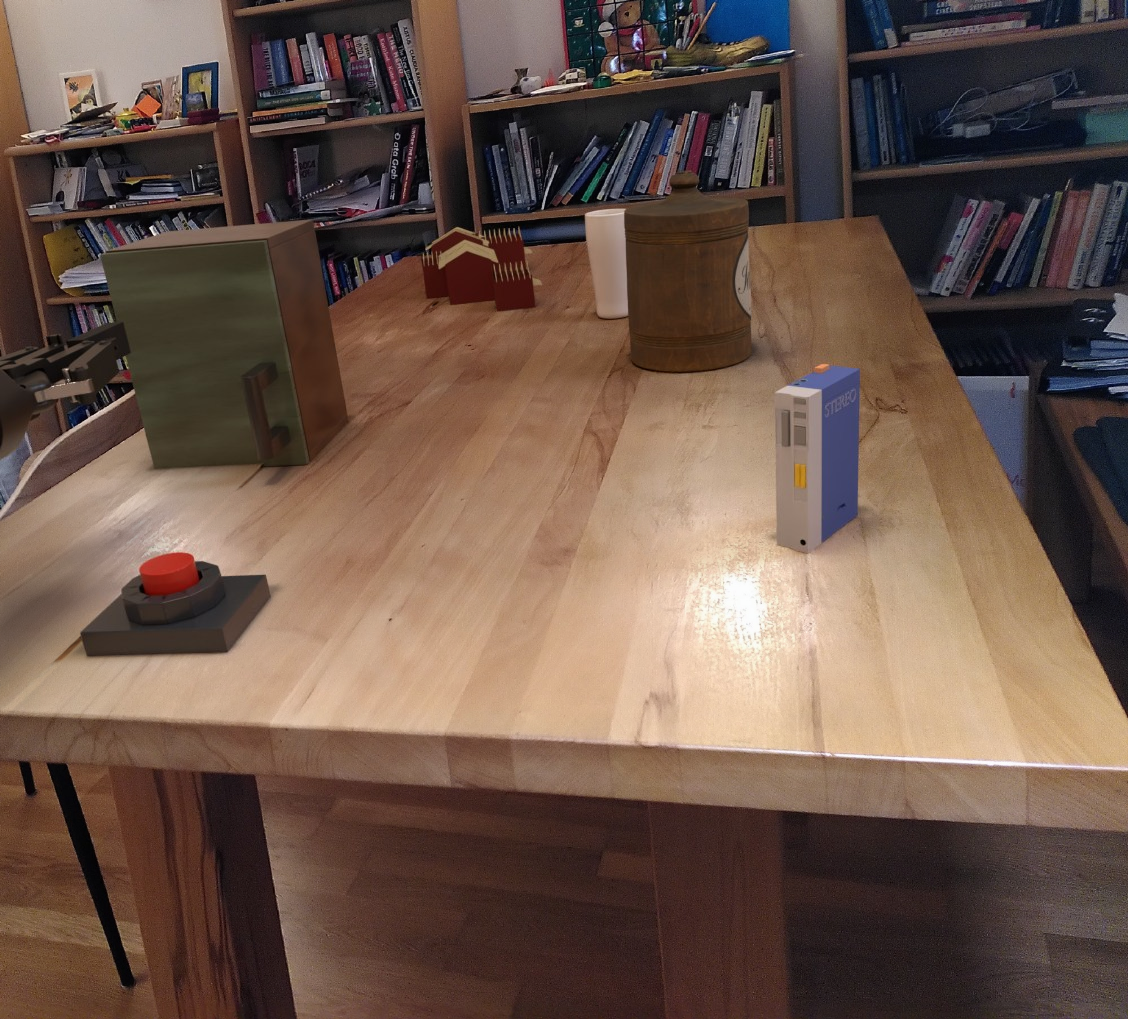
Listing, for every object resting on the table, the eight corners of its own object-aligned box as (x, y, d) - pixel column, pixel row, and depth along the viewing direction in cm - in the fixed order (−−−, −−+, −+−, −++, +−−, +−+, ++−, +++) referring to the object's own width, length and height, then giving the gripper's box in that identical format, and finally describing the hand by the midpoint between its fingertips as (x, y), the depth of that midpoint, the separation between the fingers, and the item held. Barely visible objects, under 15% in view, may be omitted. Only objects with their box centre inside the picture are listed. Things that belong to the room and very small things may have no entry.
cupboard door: (289, 484, 98) (241, 250, 90) (129, 492, 100) (68, 264, 92) (310, 461, 104) (267, 239, 96) (158, 469, 106) (103, 253, 98)
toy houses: (427, 274, 206) (420, 222, 202) (530, 263, 207) (525, 211, 203) (425, 320, 164) (416, 255, 161) (554, 306, 166) (548, 241, 162)
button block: (86, 657, 70) (72, 611, 69) (142, 601, 77) (131, 559, 76) (227, 653, 69) (216, 606, 67) (271, 597, 76) (261, 553, 75)
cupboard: (310, 462, 104) (267, 237, 96) (160, 470, 106) (104, 251, 98) (348, 422, 116) (313, 219, 108) (212, 430, 118) (167, 231, 110)
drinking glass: (647, 314, 154) (640, 209, 148) (610, 323, 151) (602, 216, 145) (619, 308, 159) (612, 207, 154) (583, 317, 156) (574, 214, 150)
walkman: (824, 509, 82) (825, 360, 77) (858, 516, 80) (860, 363, 75) (773, 546, 76) (771, 388, 72) (807, 554, 75) (807, 392, 70)
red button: (135, 599, 70) (129, 575, 70) (159, 575, 74) (154, 553, 73) (185, 597, 70) (179, 574, 69) (208, 573, 73) (202, 551, 73)
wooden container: (774, 358, 125) (772, 165, 116) (662, 380, 120) (650, 181, 112) (716, 336, 138) (709, 161, 129) (612, 354, 133) (599, 175, 125)
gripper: (-131, 482, 70) (59, 385, 91) (51, 472, 68) (201, 375, 90) (-172, 373, 67) (35, 299, 88) (17, 360, 65) (181, 288, 87)
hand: (118, 337), depth 89 cm, fingers closed
